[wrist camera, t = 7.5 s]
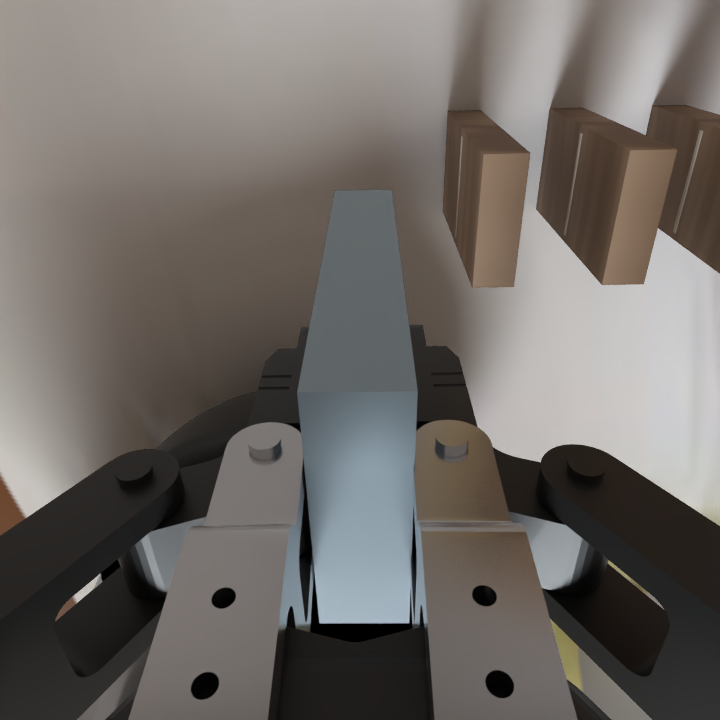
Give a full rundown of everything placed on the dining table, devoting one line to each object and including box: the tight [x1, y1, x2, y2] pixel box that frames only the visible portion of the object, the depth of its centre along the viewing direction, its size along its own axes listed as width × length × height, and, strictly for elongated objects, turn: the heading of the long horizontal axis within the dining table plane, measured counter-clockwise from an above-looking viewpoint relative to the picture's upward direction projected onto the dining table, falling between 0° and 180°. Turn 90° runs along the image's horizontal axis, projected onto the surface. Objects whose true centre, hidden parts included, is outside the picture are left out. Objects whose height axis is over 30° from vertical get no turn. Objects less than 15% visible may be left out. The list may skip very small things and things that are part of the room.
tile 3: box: [536, 108, 677, 285], centre depth 25 cm, size 2×5×10 cm, turn 1°
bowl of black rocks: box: [101, 392, 413, 642], centre depth 32 cm, size 20×20×19 cm
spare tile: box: [297, 189, 418, 623], centre depth 13 cm, size 2×5×10 cm, turn 1°
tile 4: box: [646, 105, 720, 273], centre depth 25 cm, size 2×5×10 cm, turn 1°
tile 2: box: [443, 110, 530, 288], centre depth 25 cm, size 2×5×10 cm, turn 1°
